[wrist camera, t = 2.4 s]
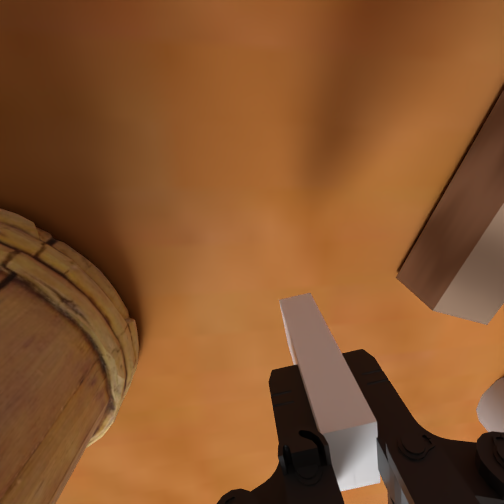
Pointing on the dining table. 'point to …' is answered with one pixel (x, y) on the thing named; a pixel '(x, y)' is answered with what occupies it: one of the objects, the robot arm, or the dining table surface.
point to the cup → (492, 407)
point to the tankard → (55, 360)
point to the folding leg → (466, 235)
